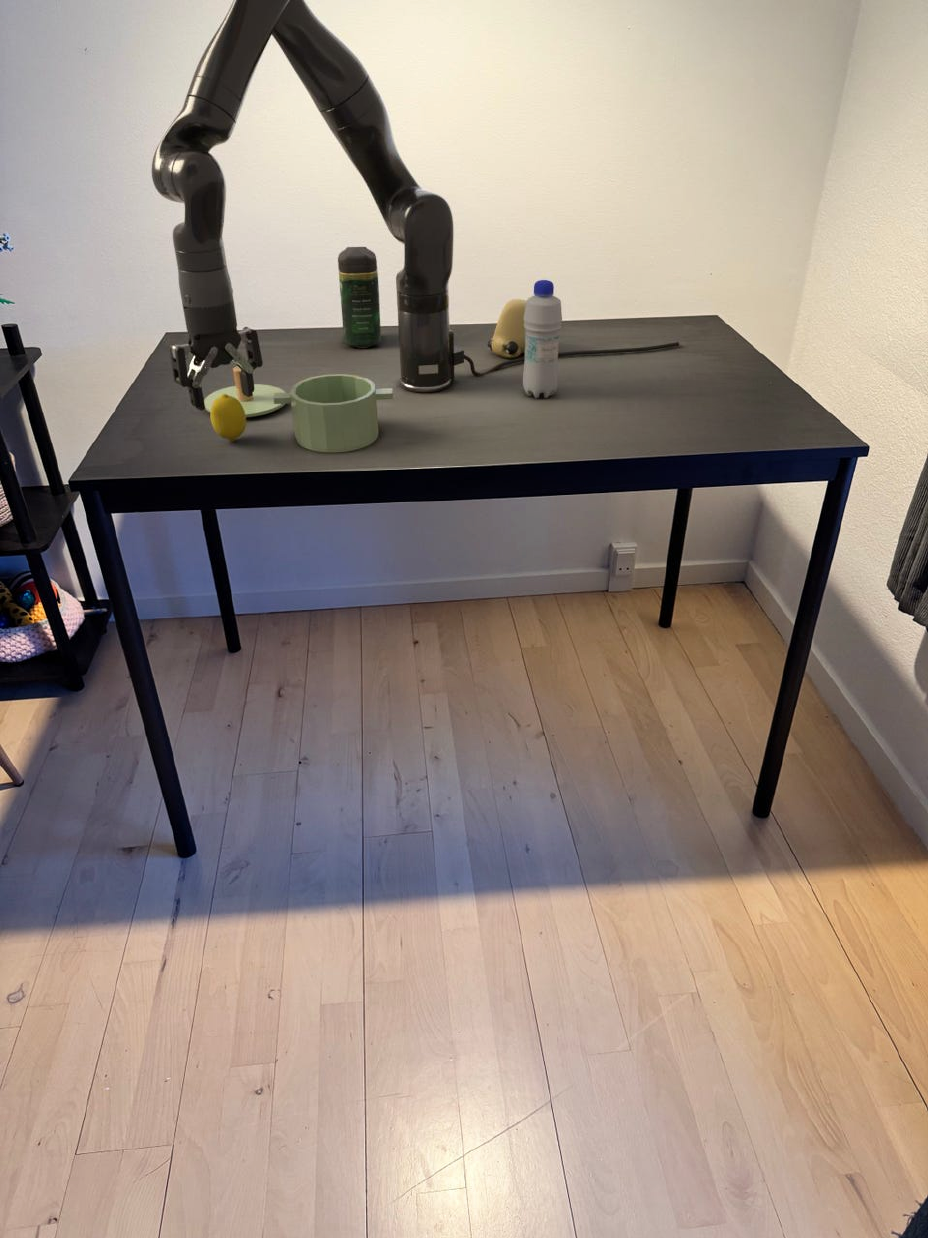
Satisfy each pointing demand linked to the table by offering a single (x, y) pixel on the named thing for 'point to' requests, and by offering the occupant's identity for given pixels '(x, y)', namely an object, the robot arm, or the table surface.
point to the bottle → (541, 340)
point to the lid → (252, 405)
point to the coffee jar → (359, 297)
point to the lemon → (228, 417)
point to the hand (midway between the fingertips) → (224, 401)
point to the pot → (334, 411)
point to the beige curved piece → (510, 330)
